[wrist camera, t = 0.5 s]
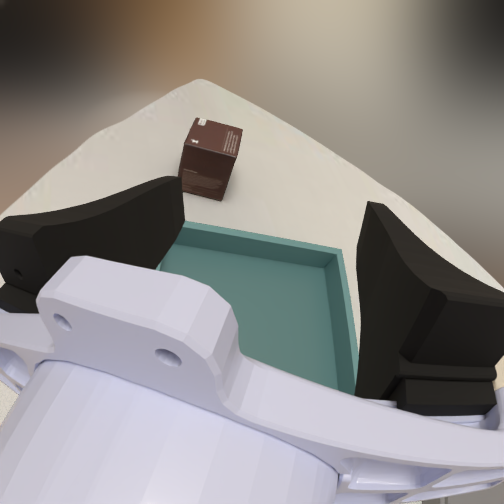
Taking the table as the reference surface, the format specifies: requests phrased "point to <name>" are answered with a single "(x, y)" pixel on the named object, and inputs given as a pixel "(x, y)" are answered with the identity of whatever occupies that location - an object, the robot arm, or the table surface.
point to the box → (209, 158)
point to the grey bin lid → (479, 496)
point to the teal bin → (277, 298)
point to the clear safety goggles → (499, 374)
